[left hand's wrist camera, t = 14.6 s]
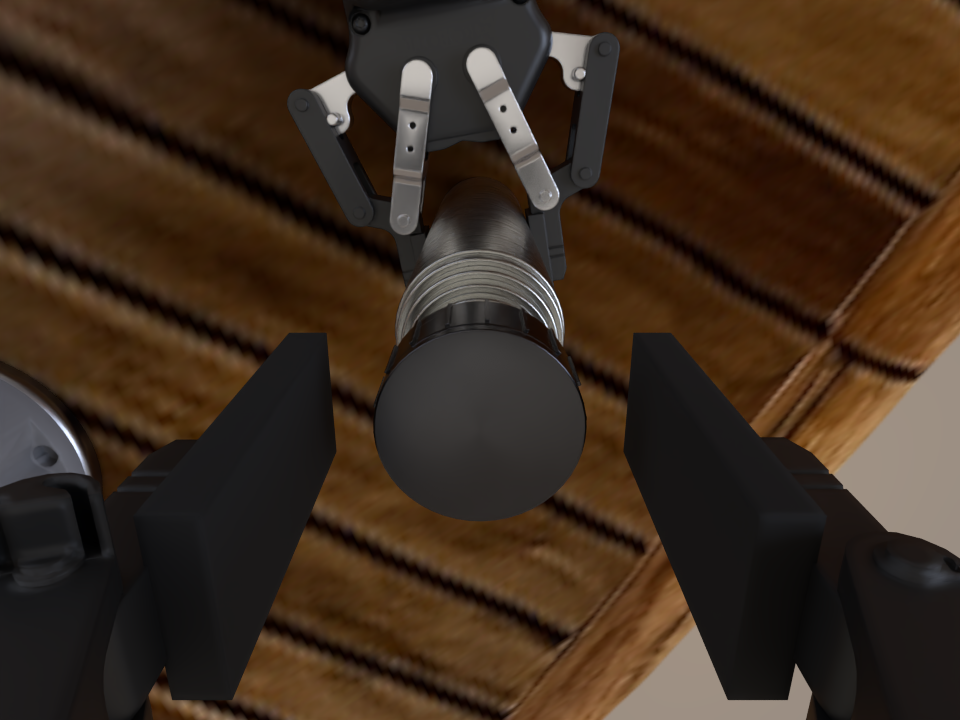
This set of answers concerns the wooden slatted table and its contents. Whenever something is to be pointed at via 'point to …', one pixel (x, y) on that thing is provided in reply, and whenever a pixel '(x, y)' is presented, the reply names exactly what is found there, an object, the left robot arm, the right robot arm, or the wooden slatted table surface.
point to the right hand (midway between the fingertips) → (490, 298)
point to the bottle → (479, 259)
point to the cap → (479, 412)
